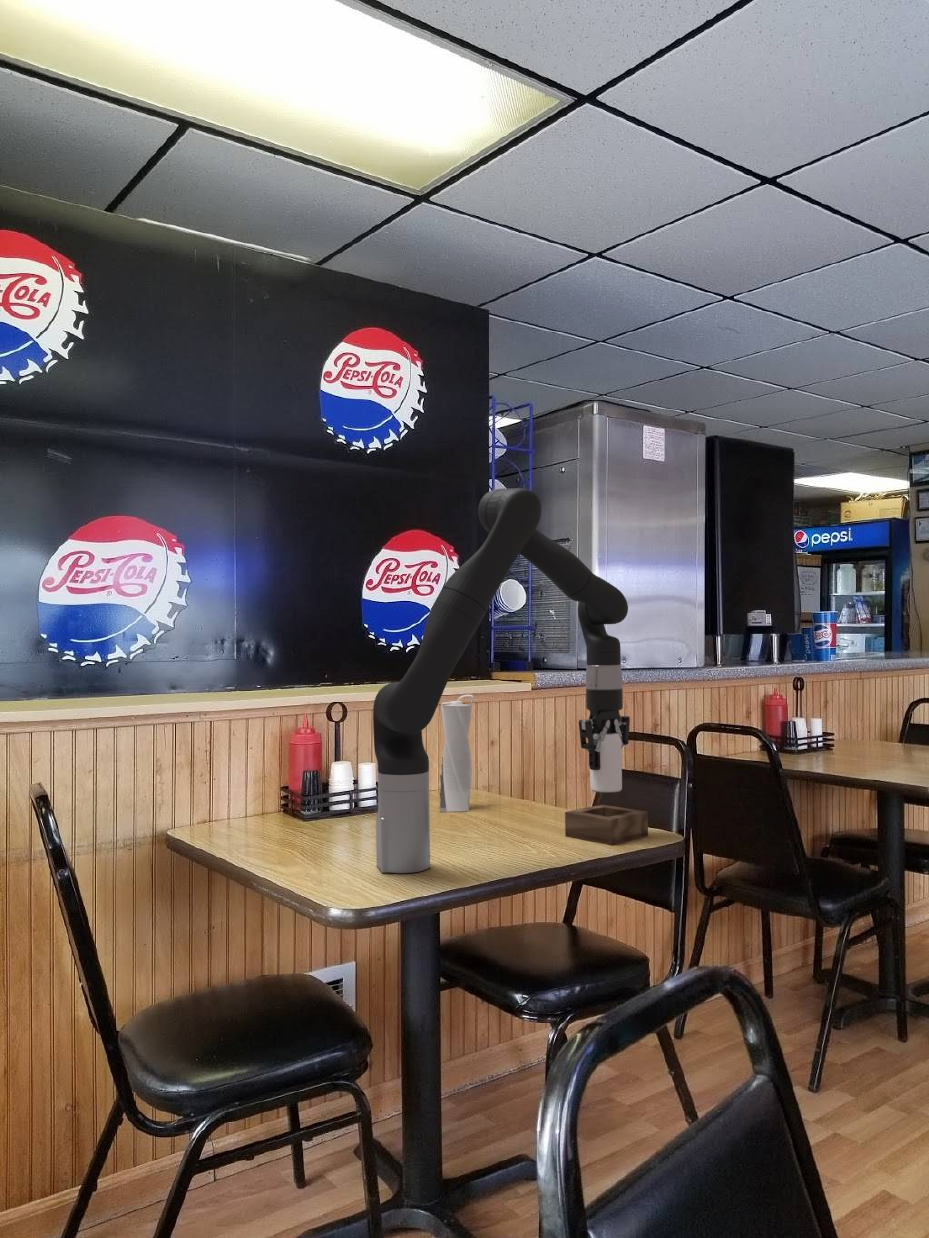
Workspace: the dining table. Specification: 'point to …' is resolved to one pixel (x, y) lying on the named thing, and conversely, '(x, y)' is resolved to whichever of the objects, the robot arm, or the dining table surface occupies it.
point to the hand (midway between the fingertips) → (605, 767)
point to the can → (608, 766)
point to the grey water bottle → (456, 757)
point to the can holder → (606, 824)
